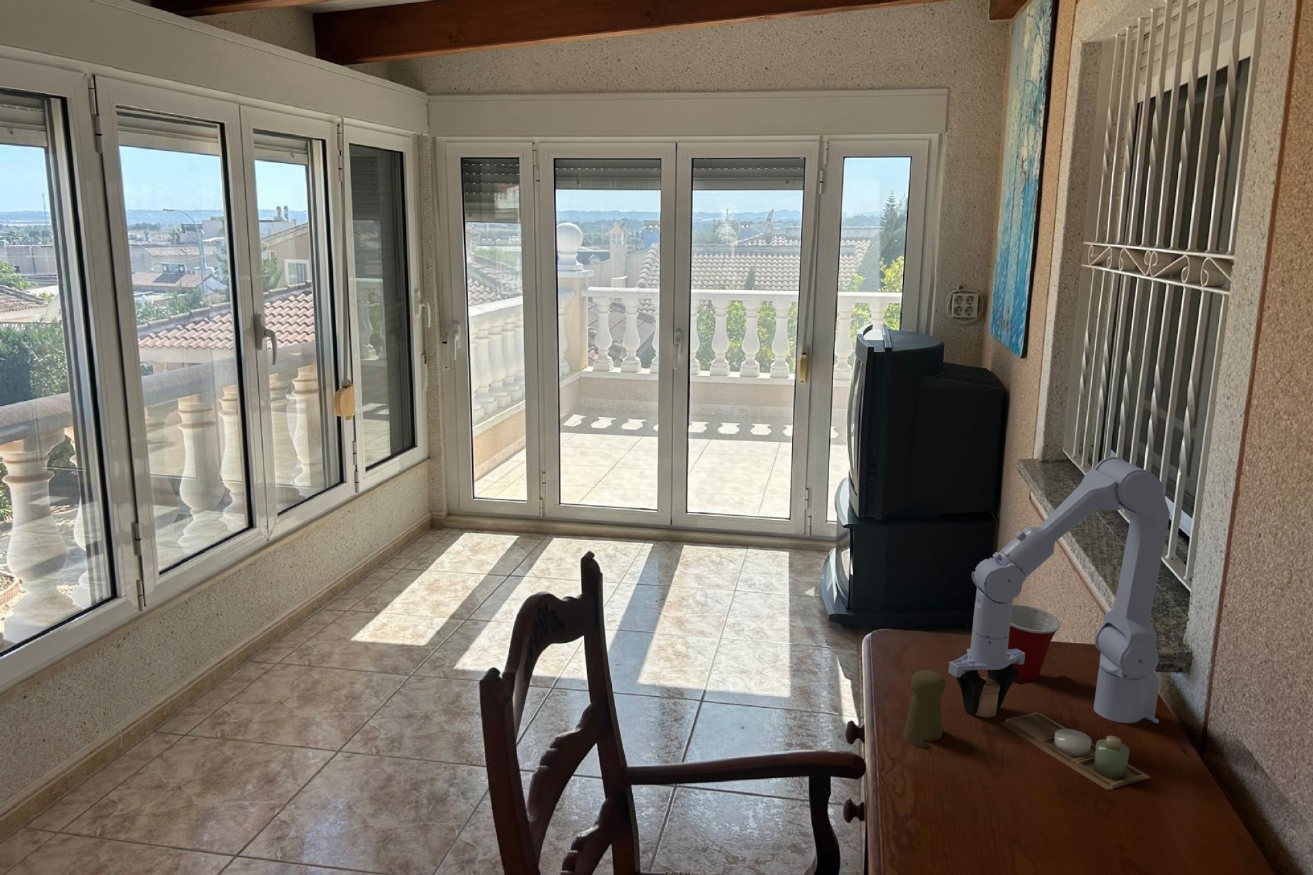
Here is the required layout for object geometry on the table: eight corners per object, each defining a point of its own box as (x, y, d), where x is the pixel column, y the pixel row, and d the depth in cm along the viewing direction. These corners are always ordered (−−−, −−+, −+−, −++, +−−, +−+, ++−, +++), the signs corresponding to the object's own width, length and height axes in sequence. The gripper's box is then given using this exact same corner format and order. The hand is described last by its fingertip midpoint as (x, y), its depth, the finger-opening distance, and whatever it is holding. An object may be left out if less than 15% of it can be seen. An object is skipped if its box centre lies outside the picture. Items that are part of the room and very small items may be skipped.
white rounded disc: (1070, 737, 155) (1072, 726, 155) (1097, 753, 151) (1099, 741, 150) (1046, 744, 153) (1047, 732, 153) (1072, 760, 149) (1074, 748, 148)
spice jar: (982, 708, 167) (986, 670, 166) (1002, 720, 163) (1007, 682, 161) (960, 713, 165) (964, 674, 163) (980, 726, 161) (985, 687, 159)
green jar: (1107, 761, 149) (1111, 729, 148) (1132, 775, 145) (1137, 743, 144) (1086, 766, 147) (1090, 734, 146) (1111, 781, 143) (1115, 748, 142)
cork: (944, 750, 153) (950, 684, 150) (904, 745, 154) (910, 679, 152) (941, 731, 158) (947, 667, 156) (902, 726, 160) (908, 663, 157)
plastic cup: (1024, 695, 172) (1032, 631, 170) (977, 671, 181) (984, 609, 179) (1066, 683, 177) (1074, 621, 175) (1018, 660, 187) (1025, 600, 184)
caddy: (1040, 720, 163) (1041, 710, 163) (1149, 784, 145) (1151, 773, 144) (999, 729, 160) (1000, 720, 159) (1106, 797, 141) (1107, 786, 141)
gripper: (1006, 617, 167) (997, 691, 170) (939, 629, 161) (931, 705, 164) (1037, 632, 161) (1028, 709, 164) (969, 645, 155) (961, 725, 158)
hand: (982, 709), depth 164 cm, fingers closed on spice jar, 5 cm apart
